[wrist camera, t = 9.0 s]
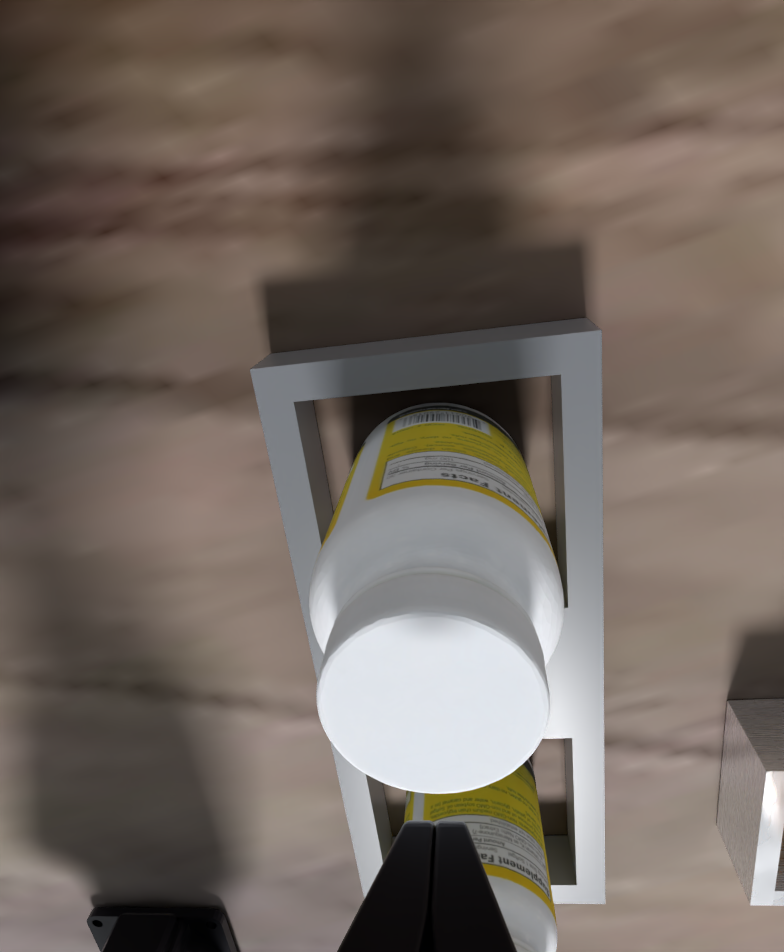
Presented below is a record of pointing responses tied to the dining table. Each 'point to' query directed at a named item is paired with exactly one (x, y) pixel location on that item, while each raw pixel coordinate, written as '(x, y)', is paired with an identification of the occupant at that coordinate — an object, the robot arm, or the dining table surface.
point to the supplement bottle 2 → (504, 850)
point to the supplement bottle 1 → (436, 605)
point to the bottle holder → (578, 541)
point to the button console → (754, 797)
